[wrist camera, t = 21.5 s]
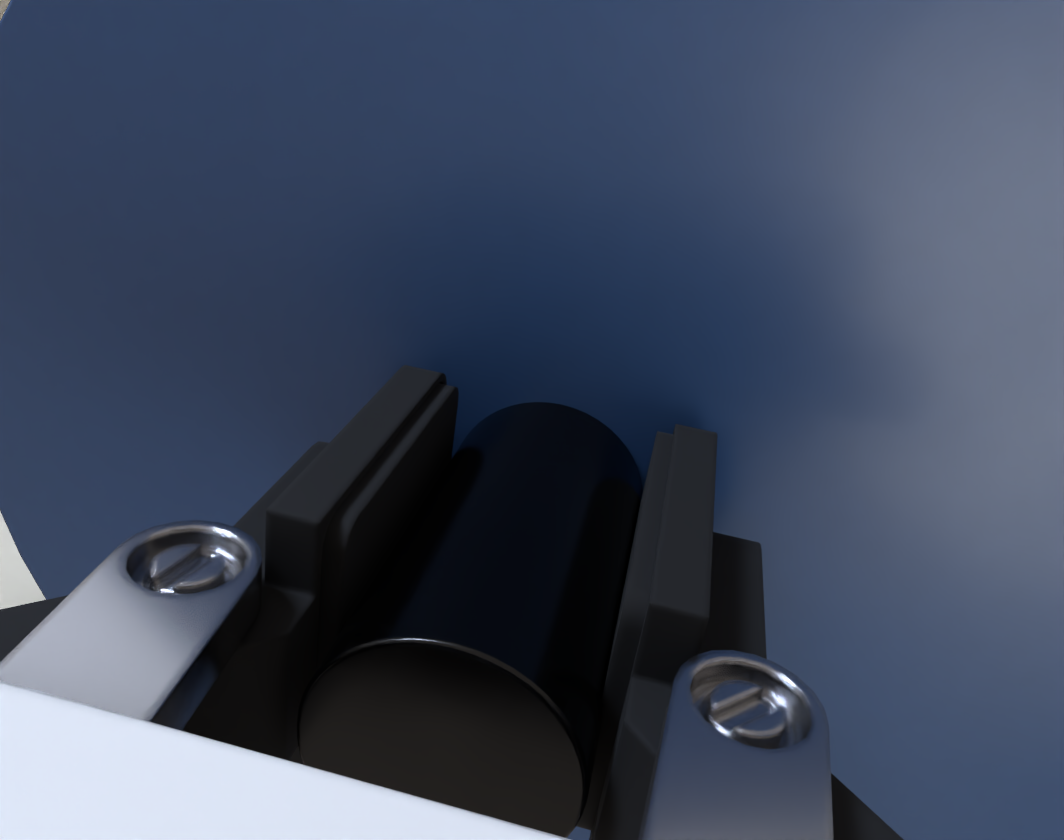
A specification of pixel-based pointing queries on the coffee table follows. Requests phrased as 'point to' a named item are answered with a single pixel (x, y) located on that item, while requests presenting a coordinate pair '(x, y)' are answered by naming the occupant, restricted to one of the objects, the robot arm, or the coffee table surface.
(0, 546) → the coffee table surface
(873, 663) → the lid
